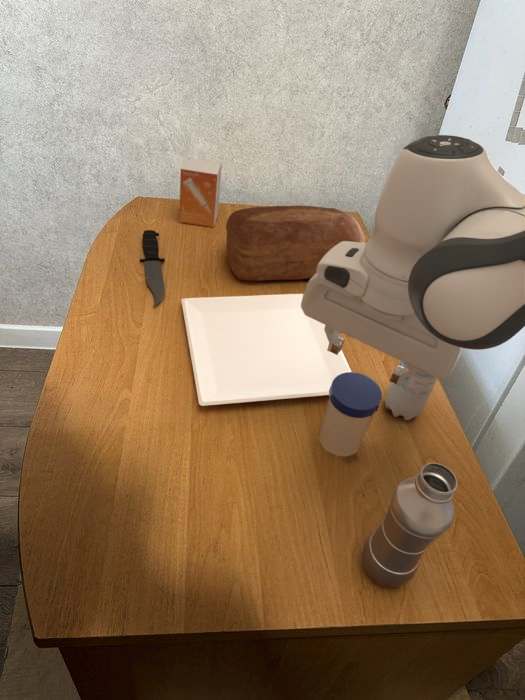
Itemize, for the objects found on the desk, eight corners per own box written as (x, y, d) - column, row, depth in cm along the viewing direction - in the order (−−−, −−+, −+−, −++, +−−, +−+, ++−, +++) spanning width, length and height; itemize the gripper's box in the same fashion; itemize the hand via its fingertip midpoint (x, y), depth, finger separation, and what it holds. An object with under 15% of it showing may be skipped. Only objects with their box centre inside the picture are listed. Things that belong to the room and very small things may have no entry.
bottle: (387, 424, 83) (429, 329, 70) (376, 392, 88) (414, 298, 75) (427, 424, 84) (476, 331, 71) (414, 393, 89) (458, 299, 76)
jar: (358, 423, 83) (376, 378, 76) (363, 458, 78) (382, 413, 71) (317, 419, 82) (330, 373, 75) (319, 454, 78) (334, 408, 71)
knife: (172, 302, 97) (144, 303, 95) (172, 309, 98) (144, 310, 96) (160, 229, 114) (136, 230, 113) (160, 236, 115) (136, 236, 114)
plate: (358, 399, 87) (361, 390, 85) (198, 413, 80) (199, 404, 79) (313, 300, 105) (315, 292, 103) (180, 306, 99) (181, 297, 97)
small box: (179, 223, 120) (179, 168, 111) (184, 209, 125) (185, 156, 116) (214, 228, 120) (217, 174, 111) (218, 214, 125) (222, 161, 116)
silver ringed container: (368, 532, 69) (417, 439, 56) (417, 561, 67) (479, 471, 54) (349, 573, 65) (396, 483, 52) (400, 604, 63) (463, 519, 49)
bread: (218, 250, 114) (222, 198, 105) (339, 245, 121) (351, 196, 113) (232, 289, 104) (237, 235, 96) (362, 281, 112) (377, 230, 103)
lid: (375, 382, 77) (378, 374, 76) (382, 420, 72) (385, 412, 70) (327, 377, 76) (329, 369, 75) (330, 415, 71) (333, 407, 70)
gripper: (491, 304, 59) (446, 387, 69) (329, 236, 65) (308, 321, 75) (477, 333, 55) (432, 417, 64) (305, 258, 61) (287, 345, 71)
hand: (364, 365), depth 70 cm, fingers open, 8 cm apart
